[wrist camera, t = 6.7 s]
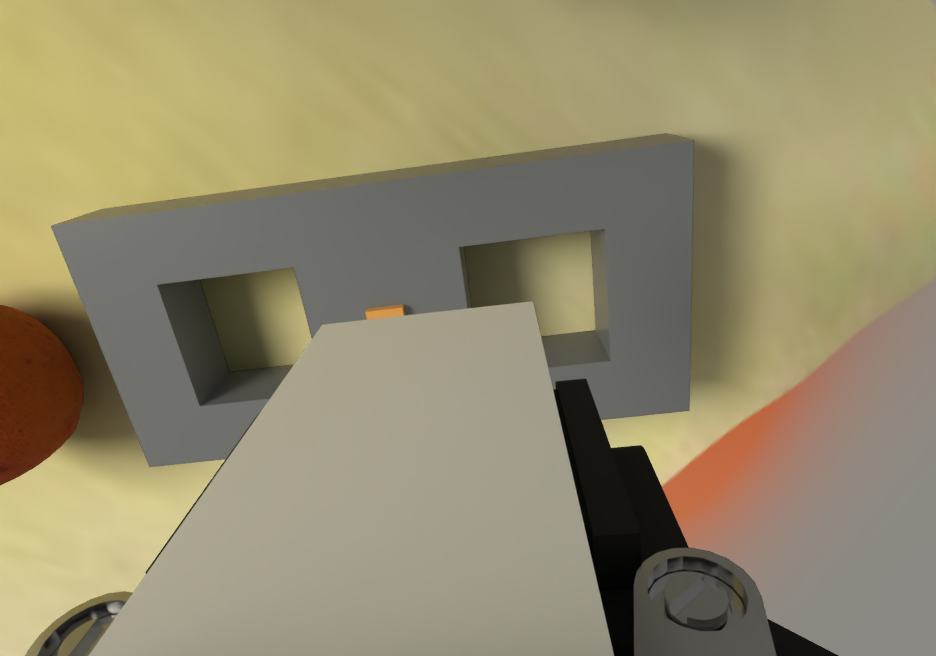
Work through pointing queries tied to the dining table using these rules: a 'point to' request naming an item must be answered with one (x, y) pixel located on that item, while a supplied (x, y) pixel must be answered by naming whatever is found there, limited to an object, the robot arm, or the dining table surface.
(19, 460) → the fruit
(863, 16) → the dining table surface
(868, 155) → the dining table surface
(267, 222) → the socket block
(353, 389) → the plug
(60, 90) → the dining table surface
